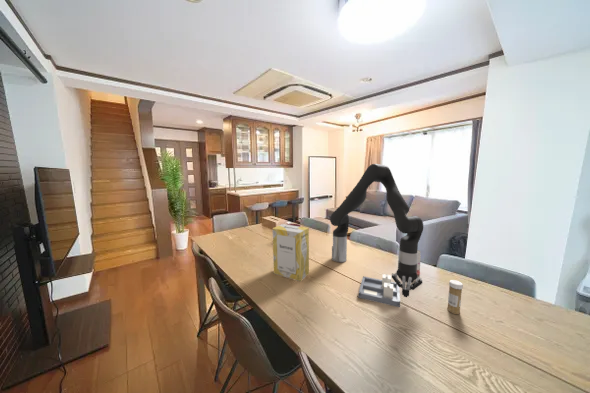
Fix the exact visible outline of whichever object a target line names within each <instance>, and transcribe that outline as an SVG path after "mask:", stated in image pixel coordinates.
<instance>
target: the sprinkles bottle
mask: <svg viewBox="0 0 590 393" xmlns="http://www.w3.org/2000/svg"><path fill="white" fill-rule="evenodd" d="M448 285H449V287H448V288H449V289H448V295H447V296H448V298H447V307H446V310H447V311H448V312H450V313H451V314H453V315H460V313H461V304H462V293H463V292H462V291H463V290H462V289H463V288H464V284H463V283H462V282H461V281H459V280H456V279H450V280H449V284H448Z"/></svg>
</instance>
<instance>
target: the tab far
mask: <svg viewBox="0 0 590 393" xmlns="http://www.w3.org/2000/svg"><path fill="white" fill-rule="evenodd" d="M381 280H382V288H384V283H390V284H391V282H392V274H385V273H382V277H381Z"/></svg>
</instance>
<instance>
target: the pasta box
mask: <svg viewBox="0 0 590 393" xmlns="http://www.w3.org/2000/svg"><path fill="white" fill-rule="evenodd" d="M309 231H310V230H309V227H304V226H301V227H299V226H293V225H288V224H284V223H281V224H279V225H277V226H274V227H273V228H272V255H273V256H272V259H273V260H272V261H273V263H272V264H273V274H274V275H276V276H280V277H283V278H287V279H290V280H294V281H297V282H302V281H303V280H304V279H305V278H306V277H307V276H308V275H309V273H310V240H309V239H310V232H309Z"/></svg>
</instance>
